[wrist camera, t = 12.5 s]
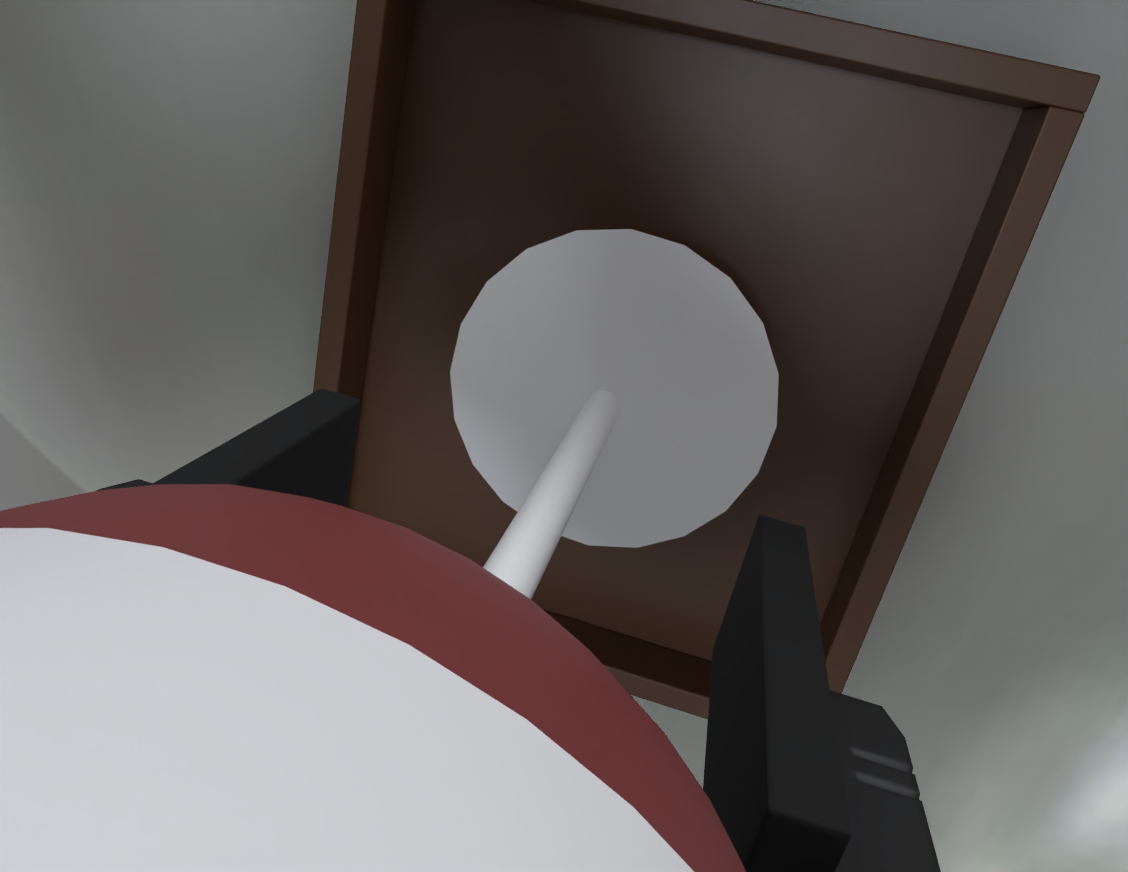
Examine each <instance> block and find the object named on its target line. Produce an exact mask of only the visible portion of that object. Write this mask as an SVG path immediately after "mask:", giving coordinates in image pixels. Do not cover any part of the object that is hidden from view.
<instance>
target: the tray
mask: <svg viewBox="0 0 1128 872" xmlns="http://www.w3.org/2000/svg"><path fill="white" fill-rule="evenodd" d="M1099 80H1100V76H1099V75H1096V74H1092V73H1087V72H1082V71H1078V70H1073V69H1068V68H1064V67H1059V66H1054V65H1050V64H1045V63H1040V62H1036V61H1031V60H1026V59H1022V58H1017V57H1012V56H1008V55H1003V54H998V53H994V52H989V51H984V50H980V49H975V48H970V47H966V46H961V45H956V44H952V43H947V42H942V41H938V40H933V39H928V38H924V37H919V36H914V35H910V34H905V33H900V32H896V31H891V30H886V29H882V28H877V27H872V26H868V25H863V24H858V23H854V22H849V21H844V20H840V19H835V18H831V17H826V16H821V15H817V14H812V13H807V12H803V11H798V10H793V9H789V8H784V7H779V6H775V5H770V4H765V3H761V2H756V1H751V0H357V7H356V15H355V24H354V33H353V42H352V51H351V60H350V69H349V78H348V87H347V95H346V104H345V113H344V122H343V131H342V140H341V149H340V158H339V167H338V175H337V184H336V193H335V202H334V211H333V220H332V229H331V238H330V247H329V255H328V264H327V273H326V282H325V291H324V300H323V309H322V318H321V327H320V335H319V344H318V353H317V362H316V371H315V380H314V389H313V393H314V392H316V391H317V390H319V389H321V388H322V389H326V390H329V391H333V392H336V393H340V394H343V395H347V396H350V397H354V398H357V399H360V400H361V407H360V415H359V422H358V429H357V437H356V444H355V451H354V459H353V466H352V474H351V481H350V488H349V496H348V503H347V508H349V509H352V510H355V511H358V512H361V513H364V514H367V515H370V516H373V517H376V518H379V519H382V520H385V521H388V522H391V523H394V524H397V525H400V526H403V527H406V528H408V529H410V530H412V531H414V532H416V533H418V534H420V535H422V536H424V537H426V538H428V539H430V540H432V541H434V542H436V543H438V544H441V545H443V546H445V547H447V548H449V549H451V550H453V551H455V552H457V553H459V554H461V555H463V556H465V557H467V558H469V559H471V560H472V561H474V562H475V563H477V564H478V565H480V566H481V567H484V565H485V563H486V562H487V560H488V559H489V557H490V555H491V554H492V552H493V551H494V549H495V547H496V546H497V544H498V543H499V541H500V539H501V538H502V536H503V535H504V533H505V531H506V530H507V528H508V527H509V525H510V523H511V522H512V520H513V519H514V517H515V515H516V514H517V511H516V510H514V509H513V508H511V507H510V506H508V505H507V504H506V503H504V502H503V501H502V500H501V499H500V497H499V496H498V495H497V494H496V492H495V491H494V490H493V489H492V487H491V486H490V485H489V484H488V483H487V481H486V480H485V479H484V478H483V476H482V475H481V474H480V473H479V471H478V470H477V469H476V468H475V466H474V465H473V464H472V461H471V459H470V456H469V454H468V452H467V449H466V447H465V444H464V442H463V439H462V437H461V435H460V432H459V430H458V427H457V425H456V422H455V420H454V410H453V399H452V388H451V377H450V369H451V365H452V360H453V356H454V352H455V347H456V343H457V339H458V334H459V330H460V325H461V323H462V321H463V320H464V318H465V316H466V315H467V313H468V311H469V310H470V308H471V307H472V305H473V303H474V302H475V300H476V298H477V297H478V295H479V294H480V292H481V290H482V289H483V287H484V285H485V284H486V282H487V281H488V280H489V279H491V278H492V277H493V276H494V275H495V274H497V273H498V272H499V271H500V270H501V269H503V268H504V267H505V266H506V265H508V264H509V263H510V262H511V261H512V260H514V259H515V258H516V257H517V256H519V255H520V254H521V253H522V252H523V251H525V250H526V249H528V248H530V247H533V246H536V245H538V244H541V243H544V242H547V241H549V240H552V239H555V238H557V237H560V236H563V235H565V234H568V233H571V232H573V231H576V230H610V229H633V230H636V231H640V232H643V233H646V234H649V235H653V236H656V237H659V238H663V239H666V240H669V241H672V242H676V243H679V244H682V245H685V246H686V247H688V248H689V249H691V250H692V251H693V252H695V253H696V254H698V255H699V256H700V257H702V258H703V259H705V260H706V261H707V262H709V263H710V264H712V265H713V266H714V267H716V268H717V269H719V270H720V271H721V272H723V273H724V274H726V275H727V276H728V277H730V278H731V279H732V281H733V282H734V283H735V285H736V286H737V288H738V289H739V290H740V292H741V293H742V294H743V296H744V297H745V299H746V300H747V301H748V303H749V304H750V306H751V307H752V308H753V310H754V311H755V312H756V314H757V315H758V317H759V318H760V319H761V321H762V322H763V324H764V328H765V331H766V334H767V338H768V341H769V344H770V347H771V351H772V354H773V357H774V361H775V364H776V367H777V370H778V374H779V380H778V405H777V427H776V429H775V432H774V434H773V437H772V439H771V442H770V445H769V447H768V450H767V452H766V455H765V457H764V460H763V462H762V465H761V467H760V470H759V472H758V474H757V475H756V476H755V478H754V479H753V480H752V481H751V482H750V483H749V485H748V486H747V487H746V488H745V489H744V491H743V492H742V493H741V494H740V495H739V496H738V498H737V499H736V500H735V501H734V502H733V503H732V505H731V506H730V507H729V508H728V509H727V510H726V511H725V512H724V513H722V514H720V515H719V516H717V517H715V518H714V519H712V520H710V521H709V522H707V523H705V524H704V525H702V526H700V527H699V528H697V529H695V530H694V531H692V532H690V533H689V534H687V535H686V536H684V537H679V538H675V539H671V540H667V541H663V542H659V543H655V544H651V545H647V546H642V547H638V548H630V547H610V546H591V545H586V544H583V543H580V542H577V541H574V540H572V539H569V538H566V537H563V536H561V538H560V540H559V542H558V544H557V546H556V548H555V550H554V552H553V555H552V557H551V559H550V561H549V563H548V565H547V567H546V569H545V571H544V574H543V576H542V578H541V580H540V582H539V584H538V586H537V588H536V590H535V592H534V595H533V597H532V599H531V600H532V601H534V602H535V603H536V604H537V605H538V606H539V607H541V608H542V609H543V610H544V611H545V612H546V613H548V614H549V615H550V616H551V617H552V618H553V619H554V620H556V621H557V622H558V623H559V624H560V625H561V626H563V627H564V628H565V629H566V630H567V631H568V632H569V633H571V634H572V635H573V636H574V637H575V638H576V639H578V640H579V641H580V642H581V643H582V644H583V645H585V646H586V647H587V648H588V649H589V650H590V651H591V652H592V653H593V654H594V655H595V657H596V658H597V659H598V660H599V661H600V662H601V663H602V664H603V665H604V666H605V667H606V669H607V670H608V671H609V672H610V673H611V674H612V675H613V676H614V677H615V679H616V680H617V681H618V682H619V683H620V684H621V685H622V686H623V687H624V689H625V690H626V691H627V692H628V693H629V694H630V695H634V696H637V697H640V698H643V699H646V700H649V701H652V702H656V703H659V704H662V705H665V706H668V707H671V708H674V709H678V710H681V711H684V712H687V713H690V714H693V715H696V716H700V717H703V718H706V719H708V712H709V698H710V683H711V669H712V654H713V648H714V645H715V642H716V639H717V636H718V633H719V630H720V627H721V624H722V621H723V618H724V615H725V612H726V610H727V607H728V604H729V601H730V598H731V595H732V592H733V589H734V586H735V583H736V580H737V577H738V574H739V571H740V569H741V566H742V563H743V560H744V557H745V554H746V551H747V548H748V545H749V542H750V539H751V536H752V533H753V531H754V528H755V525H756V522H757V519H758V516H759V514H761V515H765V516H768V517H772V518H775V519H778V520H782V521H785V522H789V523H792V524H796V525H799V526H803V527H805V531H806V538H807V544H808V551H809V557H810V564H811V571H812V577H813V584H814V590H815V597H816V604H817V610H818V617H819V623H820V630H821V637H822V643H823V650H824V656H825V663H826V670H827V676H828V683H829V689H830V691H834V692H837V693H840V694H841V693H842V691H843V688H844V686H845V684H846V681H847V679H848V676H849V674H850V672H851V669H852V667H853V665H854V662H855V660H856V657H857V655H858V653H859V650H860V648H861V646H862V643H863V641H864V638H865V636H866V634H867V631H868V629H869V627H870V624H871V622H872V619H873V617H874V615H875V612H876V610H877V607H878V605H879V603H880V600H881V598H882V596H883V593H884V591H885V588H886V586H887V584H888V581H889V579H890V577H891V574H892V572H893V569H894V567H895V565H896V562H897V560H898V558H899V555H900V553H901V550H902V548H903V546H904V543H905V541H906V539H907V536H908V534H909V531H910V529H911V527H912V524H913V522H914V519H915V517H916V515H917V512H918V510H919V508H920V505H921V503H922V500H923V498H924V496H925V493H926V491H927V489H928V486H929V484H930V481H931V479H932V477H933V474H934V472H935V470H936V467H937V465H938V462H939V460H940V458H941V455H942V453H943V451H944V448H945V446H946V443H947V441H948V439H949V436H950V434H951V432H952V429H953V427H954V424H955V422H956V420H957V417H958V415H959V412H960V410H961V408H962V405H963V403H964V401H965V398H966V396H967V393H968V391H969V389H970V386H971V384H972V382H973V379H974V377H975V374H976V372H977V370H978V367H979V365H980V363H981V360H982V358H983V355H984V353H985V351H986V348H987V346H988V344H989V341H990V339H991V336H992V334H993V332H994V329H995V327H996V325H997V322H998V320H999V317H1000V315H1001V313H1002V310H1003V308H1004V305H1005V303H1006V301H1007V298H1008V296H1009V294H1010V291H1011V289H1012V286H1013V284H1014V282H1015V279H1016V277H1017V275H1018V272H1019V270H1020V267H1021V265H1022V263H1023V260H1024V258H1025V256H1026V253H1027V251H1028V248H1029V246H1030V244H1031V241H1032V239H1033V237H1034V234H1035V232H1036V229H1037V227H1038V225H1039V222H1040V220H1041V217H1042V215H1043V213H1044V210H1045V208H1046V206H1047V203H1048V201H1049V198H1050V196H1051V194H1052V191H1053V189H1054V187H1055V184H1056V182H1057V179H1058V177H1059V175H1060V172H1061V170H1062V168H1063V165H1064V163H1065V160H1066V158H1067V156H1068V153H1069V151H1070V149H1071V146H1072V144H1073V141H1074V139H1075V137H1076V134H1077V132H1078V130H1079V127H1080V125H1081V122H1082V120H1083V118H1084V112H1086V111H1087V108H1088V106H1089V103H1090V101H1091V99H1092V96H1093V94H1094V92H1095V89H1096V87H1097V84H1098V82H1099Z"/></svg>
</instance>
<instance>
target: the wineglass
mask: <svg viewBox="0 0 1128 872" xmlns="http://www.w3.org/2000/svg"><path fill="white" fill-rule="evenodd" d="M450 377H451V388H452V399H453V410H454V420H455V422H456V425H457V427H458V430H459V432H460V435H461V437H462V439H463V442H464V444H465V447H466V449H467V452H468V454H469V456H470V459H471V461H472V464H473V465H474V466H475V468H476V469H477V470H478V471H479V473H480V474H481V475H482V476H483V478H484V479H485V480H486V481H487V483H488V484H489V485H490V486H491V487H492V489H493V490H494V491H495V492H496V494H497V495H498V496H499V497H500V499H501V500H502V501H503V502H504V503H506V504H507V505H508V506H510V507H511V508H513V509H514V510H516V511H517V514H516V515H515V517H514V519H513V520H512V522H511V523H510V525H509V527H508V528H507V530H506V531H505V533H504V535H503V536H502V538H501V539H500V541H499V543H498V544H497V546H496V547H495V549H494V551H493V552H492V554H491V555H490V557H489V559H488V560H487V562H486V563H485V565H484V567H481V566H480V565H478V564H477V563H475V562H474V561H472V560H471V559H469V558H467V557H465V556H463V555H461V554H459V553H457V552H455V551H453V550H451V549H449V548H447V547H445V546H443V545H441V544H438V543H436V542H434V541H432V540H430V539H428V538H426V537H424V536H422V535H420V534H418V533H416V532H414V531H412V530H410V529H408V528H406V527H403V526H400V525H397V524H394V523H391V522H388V521H385V520H382V519H379V518H376V517H373V516H370V515H367V514H364V513H361V512H358V511H355V510H352V509H349V508H346V507H343V506H340V505H336V504H333V503H329V502H325V501H321V500H317V499H313V498H309V497H304V496H298V495H292V494H286V493H280V492H274V491H268V490H262V489H257V488H251V487H245V486H239V485H233V484H158V485H148V486H138V487H128V488H118V489H108V490H99V491H94V492H89V493H84V494H79V495H74V496H70V497H65V498H60V499H55V500H50V501H45V502H40V503H35V504H30V505H25V506H21V507H16V508H12V509H7V510H3V511H0V872H746V870H745V868H744V866H743V864H742V862H741V860H740V858H739V856H738V854H737V852H736V850H735V848H734V846H733V844H732V842H731V840H730V838H729V836H728V834H727V832H726V830H725V828H724V826H723V824H722V822H721V821H720V819H719V817H718V815H717V813H716V811H715V809H714V807H713V805H712V803H711V801H710V799H709V798H708V796H707V795H706V793H705V792H704V790H703V789H702V787H701V786H700V784H699V783H698V782H697V780H696V779H695V777H694V776H693V774H692V773H691V771H690V770H689V768H688V767H687V765H686V764H685V763H684V761H683V760H682V758H681V757H680V755H679V754H678V752H677V751H676V749H675V748H674V746H673V745H672V744H671V742H670V741H669V739H668V738H667V736H666V735H665V733H664V732H663V731H662V730H661V729H660V727H659V726H658V725H657V724H656V723H655V722H654V721H653V720H652V719H651V717H650V716H649V715H648V714H647V713H646V712H645V711H644V710H643V709H642V707H641V706H640V705H639V704H638V703H637V702H636V701H635V700H634V699H633V697H632V696H631V695H630V694H629V693H628V692H627V691H626V690H625V689H624V687H623V686H622V685H621V684H620V683H619V682H618V681H617V680H616V679H615V677H614V676H613V675H612V674H611V673H610V672H609V671H608V670H607V669H606V667H605V666H604V665H603V664H602V663H601V662H600V661H599V660H598V659H597V658H596V657H595V655H594V654H593V653H592V652H591V651H590V650H589V649H588V648H587V647H586V646H585V645H583V644H582V643H581V642H580V641H579V640H578V639H576V638H575V637H574V636H573V635H572V634H571V633H569V632H568V631H567V630H566V629H565V628H564V627H563V626H561V625H560V624H559V623H558V622H557V621H556V620H554V619H553V618H552V617H551V616H550V615H549V614H548V613H546V612H545V611H544V610H543V609H542V608H541V607H539V606H538V605H537V604H536V603H535V602H534V601H532V600H531V599H532V597H533V595H534V592H535V590H536V588H537V586H538V584H539V582H540V580H541V578H542V576H543V574H544V571H545V569H546V567H547V565H548V563H549V561H550V559H551V557H552V555H553V552H554V550H555V548H556V546H557V544H558V542H559V540H560V538H561V536H563V537H566V538H569V539H572V540H574V541H577V542H580V543H583V544H586V545H591V546H610V547H630V548H638V547H642V546H647V545H651V544H655V543H659V542H663V541H667V540H671V539H675V538H679V537H684V536H686V535H687V534H689V533H690V532H692V531H694V530H695V529H697V528H699V527H700V526H702V525H704V524H705V523H707V522H709V521H710V520H712V519H714V518H715V517H717V516H719V515H720V514H722V513H724V512H725V511H726V510H727V509H728V508H729V507H730V506H731V505H732V503H733V502H734V501H735V500H736V499H737V498H738V496H739V495H740V494H741V493H742V492H743V491H744V489H745V488H746V487H747V486H748V485H749V483H750V482H751V481H752V480H753V479H754V478H755V476H756V475H757V474H758V472H759V470H760V467H761V465H762V462H763V460H764V457H765V455H766V452H767V450H768V447H769V445H770V442H771V439H772V437H773V434H774V432H775V429H776V427H777V405H778V380H779V374H778V370H777V367H776V364H775V361H774V357H773V354H772V351H771V347H770V344H769V341H768V338H767V334H766V331H765V328H764V324H763V322H762V321H761V319H760V318H759V317H758V315H757V314H756V312H755V311H754V310H753V308H752V307H751V306H750V304H749V303H748V301H747V300H746V299H745V297H744V296H743V294H742V293H741V292H740V290H739V289H738V288H737V286H736V285H735V283H734V282H733V281H732V279H731V278H730V277H728V276H727V275H726V274H724V273H723V272H721V271H720V270H719V269H717V268H716V267H714V266H713V265H712V264H710V263H709V262H707V261H706V260H705V259H703V258H702V257H700V256H699V255H698V254H696V253H695V252H693V251H692V250H691V249H689V248H688V247H686V246H685V245H682V244H679V243H676V242H672V241H669V240H666V239H663V238H659V237H656V236H653V235H649V234H646V233H643V232H640V231H636V230H633V229H610V230H576V231H573V232H571V233H568V234H565V235H563V236H560V237H557V238H555V239H552V240H549V241H547V242H544V243H541V244H538V245H536V246H533V247H530V248H528V249H526V250H525V251H523V252H522V253H521V254H520V255H519V256H517V257H516V258H515V259H514V260H512V261H511V262H510V263H509V264H508V265H506V266H505V267H504V268H503V269H501V270H500V271H499V272H498V273H497V274H495V275H494V276H493V277H492V278H491V279H489V280H488V281H487V282H486V284H485V285H484V287H483V289H482V290H481V292H480V294H479V295H478V297H477V298H476V300H475V302H474V303H473V305H472V307H471V308H470V310H469V311H468V313H467V315H466V316H465V318H464V320H463V321H462V323H461V325H460V330H459V334H458V339H457V343H456V347H455V352H454V356H453V360H452V365H451V369H450Z"/></svg>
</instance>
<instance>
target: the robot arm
mask: <svg viewBox="0 0 1128 872" xmlns="http://www.w3.org/2000/svg"><path fill="white" fill-rule="evenodd" d="M360 407H361V400H360V399H357V398H354V397H350V396H347V395H343V394H340V393H336V392H333V391H329V390H326V389H322V388H321V389H319V390H317V391H316V392H314V393H312V394H310V395H309V396H307V397H305V398H303V399H301V400H300V401H298V402H296V403H294V404H293V405H291V406H289V407H287V408H286V409H284V410H282V411H280V412H278V413H277V414H275V415H273V416H271V417H270V418H268V419H266V420H264V421H263V422H261V423H259V424H257V425H255V426H254V427H252V428H250V429H248V430H247V431H245V432H243V433H241V434H240V435H238V436H236V437H234V438H233V439H231V440H229V441H227V442H225V443H224V444H222V445H220V446H218V447H217V448H215V449H213V450H211V451H210V452H208V453H206V454H204V455H202V456H201V457H199V458H197V459H195V460H194V461H192V462H190V463H188V464H187V465H185V466H183V467H181V468H179V469H178V470H176V471H174V472H172V473H171V474H169V475H167V476H165V477H164V478H162V479H160V480H158V481H156V482H155V483H153V484H152V483H149V482H146V481H142V480H139V479H138V480H134V481H130V482H126V483H122V484H118V485H114V486H110V487H106V488H102V489H99V490H108V489H118V488H128V487H138V486H148V485H158V484H233V485H239V486H245V487H251V488H257V489H262V490H268V491H274V492H280V493H286V494H292V495H298V496H304V497H309V498H313V499H317V500H321V501H325V502H329V503H333V504H336V505H340V506H343V507H346V508H347V503H348V496H349V488H350V481H351V474H352V466H353V459H354V451H355V444H356V437H357V429H358V422H359V415H360ZM99 490H97V491H99ZM912 770H913V766H912V763H911V759H910V755H909V751H908V748H907V744H906V740H905V737H904V736H903V734H902V733H901V732H900V730H899V729H898V728H897V726H896V725H895V724H894V722H893V721H892V720H891V718H890V717H889V715H888V714H887V713H886V711H885V710H884V709H883V707H882V706H879V705H876V704H872V703H869V702H866V701H863V700H859V699H856V698H853V697H850V696H846V695H843V694H840V693H837V692H834V691H830V689H829V683H828V676H827V670H826V663H825V656H824V650H823V643H822V637H821V630H820V623H819V617H818V610H817V604H816V597H815V590H814V584H813V577H812V571H811V564H810V557H809V551H808V544H807V538H806V531H805V527H803V526H799V525H796V524H792V523H789V522H785V521H782V520H778V519H775V518H772V517H768V516H765V515H761V514H759V516H758V519H757V522H756V525H755V528H754V531H753V533H752V536H751V539H750V542H749V545H748V548H747V551H746V554H745V557H744V560H743V563H742V566H741V569H740V571H739V574H738V577H737V580H736V583H735V586H734V589H733V592H732V595H731V598H730V601H729V604H728V607H727V610H726V612H725V615H724V618H723V621H722V624H721V627H720V630H719V633H718V636H717V639H716V642H715V645H714V648H713V654H712V669H711V683H710V698H709V712H708V727H707V741H706V756H705V770H704V785H703V790H704V792H705V793H706V795H707V796H708V798H709V799H710V801H711V803H712V805H713V807H714V809H715V811H716V813H717V815H718V817H719V819H720V821H721V822H722V824H723V826H724V828H725V830H726V832H727V834H728V836H729V838H730V840H731V842H732V844H733V846H734V848H735V850H736V852H737V854H738V856H739V858H740V860H741V862H742V864H743V866H744V868H745V870H746V872H941V871H940V867H939V864H938V860H937V856H936V852H935V849H934V845H933V841H932V837H931V834H930V830H929V826H928V822H927V819H926V815H925V811H924V807H923V804H922V801H920V800H919V796H920V793H919V789H918V785H917V781H916V778H915V775H914V774H912Z"/></svg>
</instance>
